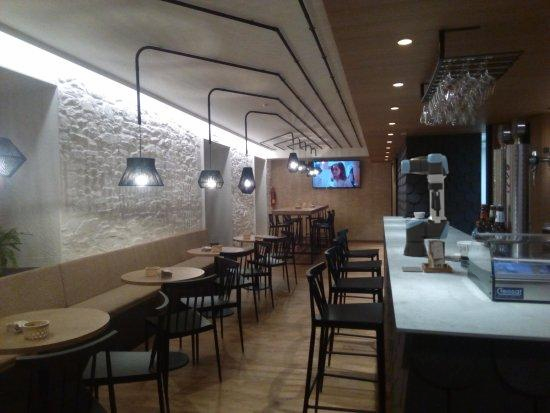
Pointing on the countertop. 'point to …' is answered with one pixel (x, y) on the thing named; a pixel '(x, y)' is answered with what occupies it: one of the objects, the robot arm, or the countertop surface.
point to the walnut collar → (436, 269)
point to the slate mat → (411, 269)
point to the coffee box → (436, 254)
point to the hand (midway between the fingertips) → (435, 221)
